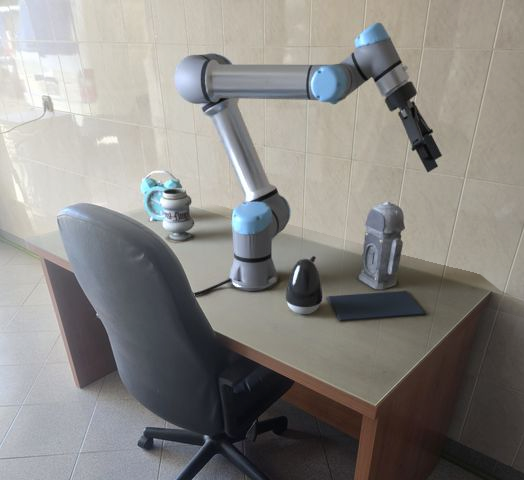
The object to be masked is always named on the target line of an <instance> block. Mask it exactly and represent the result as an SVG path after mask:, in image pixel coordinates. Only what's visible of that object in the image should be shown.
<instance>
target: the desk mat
mask: <svg viewBox="0 0 524 480" xmlns="http://www.w3.org/2000/svg"><path fill="white" fill-rule="evenodd" d="M327 300H329V303H330V304H331V306H332V308H333V311H334V313H335V314H336V316H337V318H338V320H339V322H351V321H363V320H377V319H391V318H404V317H415V316H416V317H417V316H425V315H426V312H425V311H424V310H423V308H422V307H421V306H420V305H419V304H418V302H416V300H415V299H414V298H413V297H412V296H411V295H410V294H409V293H408V291H407V290H399V291H398V290H397V291H384V292H371V293H356V294H341V295H328V296H327Z"/></svg>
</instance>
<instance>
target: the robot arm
mask: <svg viewBox="0 0 524 480" xmlns="http://www.w3.org/2000/svg"><path fill="white" fill-rule="evenodd" d="M354 46H355V49H354V50H353V52H351V54H349V55H348V56H346V57H345V58H344V59H343V60H341V62H339V63H335V64H233V63H232V61H231V60H230V59H228V58H227V57H226V56H224V55H221V54H218V53H213V52H212V53H211V52H210V53H205V54H190V55H187V56H186V57H184V58H183V59H181V60H180V61H179V62H178V64H177V65H176V68H175V71H174V77H173V78H174V85H175V89H176V90H177V93H178V94H179V96H181V98H182V99H183V100H184V101H186V102H188V103H189V104H195V105H199V106H200V108H201V110H202V112H203V114H204V115H205V116H207V117H210V118H211V120H212V123H213V125H214V127H215V130H216V132H217V134H218V137H219V139H220V141H221V143H222V146H223V148H224V150H225V153H226V155H227V159H228V160H229V162H230V165H231V167H232V169H233V172H234V174H235V176H236V178H237V181H238V184H239V185H240V187H241V190H242V192H243V195H244V197H243V199H242V203H241V204H239V205H238V206H236V207H235V208H234V209H233V211H232V217H231V218H232V219H231V228H232V243H233V261H232V264H231V268H230V272H229V276H228V279H225V280H223V281H221V282H218V283H217V284H214V285H212V286H209V287H207V288H205V289H203V290H200V291H196V292H193V293H194V294H195V296H200V295H203V294H205V293H208V292H210V291H212V290H215V289H217V288H220V287H222V286H224V285H226V284H228V283H229V284H230V286H231V287H233V288H234V289H236V290H240V291H243V292H244V291H245V292H260V291H265V290H268V289H271V288H273V287H274V286H275V285H277V283H278V272H277V269H276V266H275V263H274V260H273V258H272V257H273V256H272V252H273V251H272V248H273V247H272V242H273V239H274V238H276V236H277V235H279V234H280V233H281V232H282V231H283V230H284V229H285V228H286V227H287V225H288V223H289V222H290V218H291V207H290V204H289V202H288V200H287V199H286V198H285V197H284V196H282V195H281V194H280V193H279V191H278V188H277V186H276V185H273V184H271V183H270V181H269V178H268V177H267V174H266V171H265V169H264V165H263V164H262V162H261V159H260V157H259V154H258V151H257V149H256V147H255V144H254V142H253V139H252V137H251V135H250V132H249V129H248V128H247V125H246V122H245V120H244V118H243V115H242V112H241V110H240V108H239V107H240V106H239V101H240V99H247V100H248V99H250V100H293V101H295V100H300V101H320V102H322V103H330V104H331V105H338V103H340V102H341V101H343V100H345V99H346V98H347V97H348V96H350V95H351V94H352V93H353V92H355V91H356V90H357V89H358V88H360V87H361V86H362V85H363V84H364V83H366V82H367V81H369V80H370V79H371V78H372V80H373V81H374V85H375V86H376V88H377V90H378V92H379V94H380V95H381V97H382V98H383V97H384V103H385V104H386V106H387V109H388V110H389V112H394V111H395V110H397V109H399V111H398V112H397V116H398V117H399V118H400V120H401V123H402V125H403V128H404V130H405V133H406V135H407V138H408V140H409V142H410V145H411V147H410V149H411V151H412V152H414V151H416V153H417V155H418V157H419V159H420V161H421V163H422V165H423V167H424V169H425V171H426V173H429V172H431V171H433V170H435V169H437V168H438V167H439V164H438V163H437V162H436V160H437V159H439V158H441V157H442V156H443V154H442V152H441V150H440V148H439V146H438V145H437V142H436V140H435V139H434V136H433V135H432V134H433V133H434V130H433V128H431V127H429V126H428V123H427V122H426V120H425V118H424V117H423V115H422V114H421V112H420V110H419V108H418V106H417V105H416V102H415V101H414V100H412V99H413V98H414V97H416V96H417V94H418V91H417V89H416V87H415V85H414V83H413V81H412V80H409V79H410V76H409V73H408V72H407V70H408V68H409V67H408V65H404V63H403V61H402V60H401V57H400V55H399V53H398V51H397V49H396V47H395V45H394V43H393V41H392V39H391V36H390V35H389V34H388V32H387V30H386V28H385V26H384V25H383V23H381V22H375V23H373V24H371V25H370V26H368V27H367V28H366V29H365V30H363V31H362V32H361V33H360V34H359V35H358V36H356V38H355V39H354ZM411 100H412V101H411ZM195 296H194V297H195Z"/></svg>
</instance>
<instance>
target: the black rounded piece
mask: <svg viewBox="0 0 524 480" xmlns="http://www.w3.org/2000/svg"><path fill="white" fill-rule="evenodd" d="M315 261H316V256H315V255H312V256H311V257H310V259H309V258H302V259H299V260H298V261H297V262H296V263H295V264H294V266H293V268H292V270H291V272H290V275H289V278H288V281H287V286H286V292H285V300H286V303H287V305H288V307H289V309H290V310H292V311H293V312H294V313H296V314H299V315H309V314H312V313H314V312H316V311H317V310H318V309H319V307H320V306H321V303H322V302H323V298H324V297H323V296H324V295H323V285H322V279H321V277H320V273H319V270H318V267H317V265H316V264H315V263H314V262H315Z"/></svg>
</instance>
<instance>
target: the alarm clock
mask: <svg viewBox="0 0 524 480" xmlns="http://www.w3.org/2000/svg"><path fill="white" fill-rule="evenodd" d="M154 173H155V174H156V173H157V174H159V173H161V174H165V175H168V176H170V177H171V178H170V179H168V180H167V181H165V183H163V182H162V180H156V179H154V178H151V177H150V176H151V175H153V174H154ZM141 182H142V183H141V184H140V192H141V194H142V195H144V196H143V206H144V209H145V211H146V212H147V214H148V216H150V219H149V221H150V222H153V221H155V220H158V221H164V219H165V213H164V208H163V207H162V206H161V205H160V199H161V198H162V197H163V191H165V190H167V189H172V188H182V189H183V185H182V184H181V180H180V178H176V177H175V176H174V175H173V174H172V173H170V172H169V171H167V170H161V169H160V170H153V171H151V172H149V173H148V175H146V176H145V177H142V180H141Z"/></svg>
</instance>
